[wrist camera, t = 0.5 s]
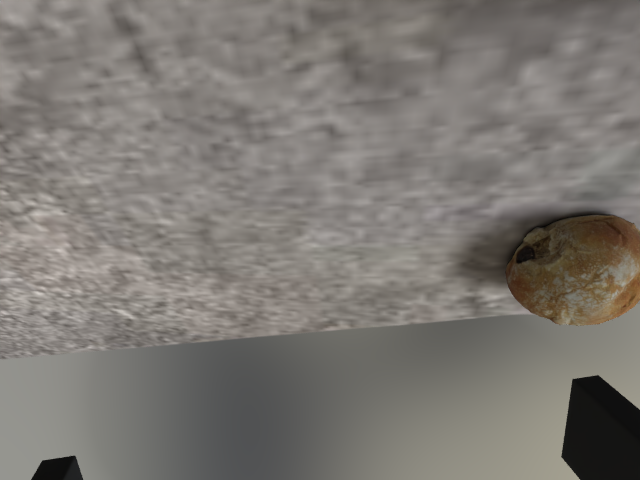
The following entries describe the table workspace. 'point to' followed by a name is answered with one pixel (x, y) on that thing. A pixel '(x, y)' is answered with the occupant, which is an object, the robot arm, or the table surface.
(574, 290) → the bread roll
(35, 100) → the table surface
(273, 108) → the table surface
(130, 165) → the table surface
